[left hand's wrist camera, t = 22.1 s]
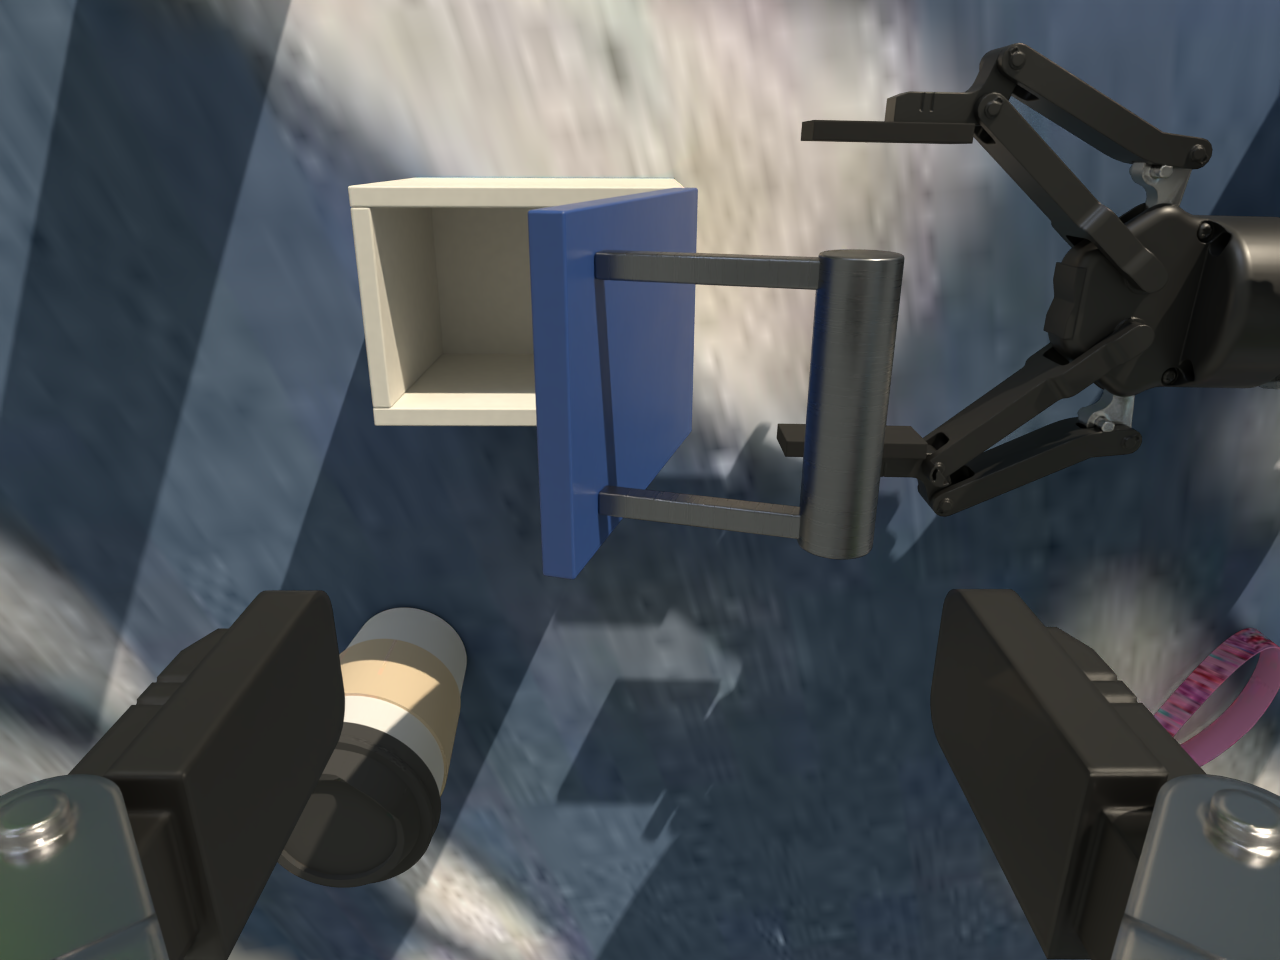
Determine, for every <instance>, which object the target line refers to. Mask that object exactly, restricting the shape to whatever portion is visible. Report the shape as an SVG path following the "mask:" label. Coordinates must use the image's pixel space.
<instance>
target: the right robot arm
mask: <svg viewBox="0 0 1280 960" xmlns="http://www.w3.org/2000/svg"><path fill="white" fill-rule="evenodd" d="M1011 96H1013V97H1014V98H1016V99H1017V100H1019V101H1021V102H1022V103H1024V104H1025V105H1027V106H1029V107H1030V108H1032V109H1033V110H1035V111H1037V112H1038V113H1040V114H1041V115H1043V116H1045V117H1046V118H1048V119H1049V120H1051V121H1053V122H1054V123H1056V124H1057V125H1059V126H1061V127H1062V128H1064V129H1065V130H1067V131H1069V132H1070V133H1072V134H1073V135H1075V136H1077V137H1078V138H1080V139H1081V140H1083V141H1085V142H1086V143H1088V144H1089V145H1091V146H1093V147H1094V148H1096V149H1097V150H1099V151H1101V152H1102V153H1104V154H1106V155H1107V156H1109V157H1111V158H1113V159H1116V160H1118V161H1121V162H1124V163H1129V164H1133V165H1131V167H1130V170H1129V173H1130V175H1131V177H1132V180H1133V181H1134V182H1135V183H1137V184H1139V185H1141V186H1142V187H1143V188H1144V189H1145V191H1146V195H1147V198H1146V202H1145V203H1143V204H1140V205H1138V206H1136V207H1134V208H1133V209H1131V210H1129V211H1128V212H1126V213H1125V214H1123V215H1122V216H1120V217H1119V218H1118V217H1117V215H1116V214H1115V213H1114V212H1113V211H1112V210H1110V209H1109V208H1108V207H1106V206H1104V205H1102V204H1101V203H1100V202H1099V201H1098V200H1097V199H1096V198H1095V197H1094V196H1093V195H1092V194H1091V193H1090V191H1089V190H1088V189H1087V188H1086V187H1085V186H1084V185H1083V184H1082V183H1081V181H1080V180H1079V179H1078V178H1077V177H1076V176H1075V175H1074V174H1073V173H1072V171H1071V170H1070V169H1069V168H1068V167H1067V166H1066V165H1065V164H1064V162H1063V161H1062V160H1061V159H1060V158H1059V157H1058V156H1057V155H1056V154H1055V152H1054V151H1053V150H1052V149H1051V148H1050V147H1049V146H1048V145H1047V144H1046V142H1045V141H1044V140H1043V139H1042V138H1041V137H1040V136H1039V135H1038V134H1037V132H1036V131H1035V130H1034V129H1033V128H1032V127H1031V126H1030V125H1029V123H1028V122H1027V121H1026V120H1025V119H1024V118H1023V117H1022V116H1021V115H1020V113H1019V112H1018V111H1017V110H1016V109H1015V108H1014V107H1013V106H1012V105H1011V103H1010V102H1009V99H1010V97H1011ZM973 137H974V138H975V139H976V140H977V141H978V142H979V143H980V144H981V145H982V147H983V148H984V149H985V150H986V151H987V152H988V153H989V154H990V155H991V156H992V157H993V158H994V160H995V161H996V162H997V163H998V164H999V165H1000V166H1001V167H1002V168H1003V169H1004V170H1005V171H1006V173H1007V174H1008V175H1009V176H1010V177H1011V178H1012V179H1013V180H1014V181H1015V182H1016V183H1017V184H1018V186H1019V187H1020V188H1021V189H1022V190H1023V191H1024V192H1025V193H1026V194H1027V195H1028V196H1029V197H1030V199H1031V200H1032V201H1033V202H1034V203H1035V204H1036V205H1037V206H1038V207H1039V208H1040V209H1041V210H1042V211H1043V213H1044V214H1045V215H1046V216H1047V217H1048V218H1049V219H1050V220H1051V225H1052V226H1053V228H1054V229H1055V230H1056V231H1057V232H1058V233H1059V234H1060V235H1061V237H1062V238H1063V239H1064V240H1065V241H1066V242H1067V243H1068V244H1069V245H1070V246H1071V247H1072V248H1071V249H1070V250H1069V251H1068V253H1067V254H1066V255H1065V257H1064V258H1063V260H1062V262H1056V267H1055V272H1054V278H1053V284H1054V299H1053V301H1052V303H1051V306H1050V308H1049V310H1048V312H1047V315H1046V320H1045V325H1044V331H1046V332H1048V335H1049V340H1050V343H1049V344H1048V345H1046V346H1045V347H1043V348H1042V349H1041V350H1039V351H1038V352H1036V353H1035V354H1033V355H1032V356H1031V357H1030V358H1028V359H1027V361H1026V363H1025V366H1024V367H1023V368H1022V369H1020V370H1019V371H1017V372H1016V373H1014V374H1013V375H1012V376H1010V377H1009V378H1007V379H1006V380H1005V381H1003V382H1002V383H1000V384H999V385H997V386H996V387H995V388H993V389H992V390H990V391H989V392H988V393H986V394H985V395H983V396H982V397H980V398H979V399H978V400H976V401H975V402H973V403H972V404H971V405H969V406H968V407H966V408H965V409H963V410H962V411H961V412H959V413H958V414H956V415H955V416H954V417H952V418H951V419H949V420H948V421H946V422H945V423H944V424H942V425H941V426H939V427H938V428H937V429H935V430H934V431H932V432H931V433H929V434H928V435H927V436H925V437H924V438H922V437H921V436H920V435H919V434H918V433H917V432H916V431H915V430H914V429H913V428H912V427H911V426H886V429H885V438H884V447H883V456H882V465H881V474H880V477H883V476H884V477H913V478H917V480H918V492H919V493H920V495H921V496H922V497H923V498H924V500H925V501H926V502H927V503H928V505H929V506H930V507H931V508H932V509H933V511H934V512H935V513H936V514H937V515H939V516H943V517H945V516H950V515H952V514H955V513H957V512H959V511H962V510H964V509H967V508H969V507H972V506H974V505H976V504H979V503H981V502H984V501H986V500H989V499H991V498H993V497H996V496H998V495H1001V494H1003V493H1006V492H1008V491H1010V490H1013V489H1015V488H1018V487H1020V486H1023V485H1025V484H1028V483H1030V482H1032V481H1035V480H1037V479H1040V478H1042V477H1045V476H1047V475H1049V474H1052V473H1054V472H1057V471H1059V470H1062V469H1064V468H1066V467H1069V466H1071V465H1074V464H1076V463H1079V462H1081V461H1083V460H1086V459H1088V458H1091V457H1101V456H1113V455H1124V454H1130V453H1133V452H1135V451H1136V450H1137V449H1138V448H1139V447H1140V445H1141V442H1142V436H1141V435H1140V433H1139V432H1138V431H1136V430H1134V429H1132V428H1131V423H1132V415H1133V406H1134V397H1135V395H1136V394H1139V393H1141V392H1143V391H1145V390H1147V389H1150V388H1154V387H1208V388H1252V387H1257V386H1259V387H1262V388H1268V389H1280V218H1279V217H1255V216H1210V215H1191V214H1189V213H1187V212H1185V211H1184V210H1183V209H1181V208H1180V207H1179V206H1180V203H1181V200H1182V197H1183V194H1184V191H1185V188H1186V185H1187V182H1188V180H1189V177H1190V174H1191V171H1192V169H1199V168H1201V167H1203V166H1204V165H1205V164H1206V163H1208V161H1209V160H1210V158H1211V156H1212V146H1211V144H1210V142H1209V141H1208V140H1206V139H1203V138H1198V137H1191V136H1184V135H1178V134H1171V133H1164V132H1162V131H1160V130H1159V129H1157V128H1156V127H1154V126H1153V125H1151V124H1149V123H1148V122H1146V121H1145V120H1143V119H1142V118H1140V117H1138V116H1137V115H1135V114H1134V113H1132V112H1131V111H1129V110H1128V109H1126V108H1124V107H1123V106H1121V105H1120V104H1118V103H1117V102H1115V101H1113V100H1112V99H1110V98H1109V97H1107V96H1106V95H1104V94H1102V93H1101V92H1099V91H1098V90H1096V89H1095V88H1093V87H1092V86H1090V85H1088V84H1087V83H1085V82H1084V81H1082V80H1081V79H1079V78H1077V77H1076V76H1074V75H1073V74H1071V73H1070V72H1068V71H1066V70H1065V69H1063V68H1062V67H1060V66H1059V65H1057V64H1055V63H1054V62H1052V61H1051V60H1049V59H1048V58H1046V57H1045V56H1043V55H1041V54H1040V53H1038V52H1037V51H1035V50H1034V49H1032V48H1030V47H1029V46H1027V45H1025V44H1022V43H1017V44H1012V45H1008V46H1005V47H1001V48H998V49H994V50H991V51H989V52H988V53H986V54H985V55H984V56H983V58H982V59H981V62H980V67H979V73H978V75H977V78H976V80H975V82H974V83H973V85H972V86H971V87H970V88H969V90H967V91H966V92H964V93H951V92H905V93H901V94H898V95H895V96H893V97H890V98H888V99H887V105H886V114H885V122H883V121H836V120H812V121H806V122H802V132H801V141H834V142H881V143H928V144H971V143H972V142H973ZM1092 383H1095V384H1096V385H1097V386H1098V387H1100V388H1101V389H1103V390H1104V391H1103V395H1102V397H1101V399H1100V400H1099V401H1098V402H1096V403H1095V404H1092V405H1089V406H1087V407H1082V408H1080V409H1079V411H1078V417H1074V418H1068V419H1064V420H1060V421H1057V422H1055V423H1052V424H1049V425H1047V426H1045V427H1042V428H1040V429H1037V430H1035V431H1033V432H1030V433H1028V434H1026V435H1023V436H1021V437H1018V438H1016V439H1014V440H1011V441H1009V442H1007V443H1004V444H1002V445H999V446H997V447H995V448H992V449H990V450H988V451H985V450H987V449H988V448H990V447H991V446H993V445H994V444H996V443H997V442H998V441H1000V440H1001V439H1003V438H1004V437H1006V436H1007V435H1009V434H1010V433H1012V432H1013V431H1014V430H1016V429H1017V428H1019V427H1020V426H1022V425H1023V424H1025V423H1026V422H1028V421H1029V420H1030V419H1032V418H1033V417H1035V416H1036V415H1038V414H1039V413H1041V412H1042V411H1043V410H1045V409H1046V408H1048V407H1049V406H1051V405H1052V404H1054V403H1055V402H1057V401H1058V400H1060V399H1063V398H1069V397H1072V396H1074V395H1076V394H1078V393H1079V392H1081V391H1082V390H1083V389H1085V388H1086V387H1088V386H1089V385H1091V384H1092ZM805 429H806V424H778V429H777V440H778V442H779V444H780V446H781V448H782V450H783V452H784V455H785V457H803V456H804V443H805ZM984 451H985V452H984Z"/></svg>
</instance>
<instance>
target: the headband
mask: <svg viewBox="0 0 1280 960" xmlns="http://www.w3.org/2000/svg"><path fill="white" fill-rule="evenodd" d="M1259 652H1260V657H1259V660H1258V663H1257V666H1256V668H1255V670H1254V672H1253V674H1252V676H1251V678H1250V680H1249V682H1248V683H1247V685H1246V686H1245V688H1244V689H1243V691H1242V692H1241V693H1240V695H1239V696H1238V697H1237V698H1236V700H1235V701H1234V702H1233V703H1232V704H1231V705H1230V707H1229V708H1228V709H1227V710H1226V711H1225V712H1224V713H1223V714H1222V715H1221V716H1220V717H1219V718H1217V719H1216V720H1215V721H1214V722H1213V723H1212V724H1210V725H1209V726H1208V727H1207V728H1205V729H1204V730H1203V731H1201V732H1200V733H1199V734H1197V735H1196V736H1194V737H1193V738H1191V739H1190V740H1188V741H1186V742H1185V743H1183V744H1181V745H1180V746H1181V747H1182V748H1183V749H1184V750H1185V751H1186V752H1187V753H1188V754H1189V755H1190V757H1191V758H1192V759H1193V760H1194V761H1195V762H1196V763H1197V764H1198V765H1199V766H1200V767H1201V766H1203V765H1204V764H1206V763H1208V762H1209V761H1211V760H1213V759H1214V758H1216V757H1217V756H1219V755H1220V754H1221V753H1223V752H1224V751H1226V750H1227V749H1228V748H1230V747H1231V746H1232V745H1233V744H1234V743H1236V742H1237V741H1238V740H1239V739H1240V738H1241V737H1242V736H1243V735H1245V734H1246V733H1247V732H1248V731H1249V730H1250V729H1251V728H1252V727H1253V726H1254V725H1255V724H1256V722H1257V721H1258V720H1259V719H1260V717H1261V716H1262V715H1263V714H1264V712H1265V711H1266V709H1267V708H1268V707H1269V705H1270V704H1271V702H1272V700H1273V699H1274V697H1275V695H1276V693H1277V691H1278V689H1279V687H1280V647H1279V646H1277V645H1276V644H1275V643H1273V642H1272V641H1271V640H1270V639H1268V638H1267V637H1266V636H1264V635H1263V634H1262V633H1261V632H1259V631H1258V630H1256V629H1254V628H1247V629H1244V630H1241V631H1239V632H1237V633H1235V634H1234V635H1232V636H1231V637H1229V638H1228V639H1227V640H1225V641H1224V642H1223V643H1222V644H1221V645H1219V646H1218V647H1217V648H1216V649H1215V650H1214V651H1213V652H1212V653H1211V654H1210V655H1209V656H1208V657H1207V658H1206V659H1205V660H1204V661H1203V662H1202V663H1201V664H1200V665H1199V666H1198V667H1197V668H1196V669H1195V670H1194V671H1193V672H1192V673H1191V674H1190V675H1189V676H1188V677H1187V679H1186V680H1185V681H1184V682H1183V683H1182V684H1181V685H1180V686H1179V687H1178V688H1177V690H1176V691H1175V692H1174V693H1173V694H1172V695H1171V696H1170V697H1169V699H1168V700H1167V701H1166V702H1165V703H1164V704H1163V706H1162V707H1161V708H1160V709H1159V710H1158V711H1157V713H1156V714H1155V715H1154V717H1155V718H1156V719H1157V720H1158V721H1159V722H1160V724H1161V725H1162V726H1163V727H1164V728H1165V729H1166V730H1167V731H1168V732H1169V733H1170V735H1171V736H1172V737H1174V735H1175V734H1176V733H1177V732H1178V731H1179V729H1180V728H1181V727H1182V726H1183V725H1184V724H1185V723H1186V721H1187V720H1188V719H1189V718H1190V717H1191V716H1192V715H1193V714H1194V713H1195V711H1196V710H1197V709H1198V708H1199V707H1200V706H1201V705H1202V704H1203V703H1204V702H1205V701H1206V700H1207V698H1208V697H1209V696H1210V695H1211V694H1212V693H1213V692H1214V691H1215V690H1216V689H1217V688H1218V687H1219V686H1220V685H1221V684H1222V683H1223V682H1224V681H1225V680H1226V679H1227V678H1228V677H1229V676H1230V675H1231V674H1232V673H1233V672H1234V671H1236V670H1237V669H1238V668H1239V667H1240V666H1241V665H1242V664H1244V663H1245V662H1246V661H1247V660H1249V659H1250V658H1251V657H1253V656H1254V655H1256V654H1257V653H1259Z"/></svg>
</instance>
